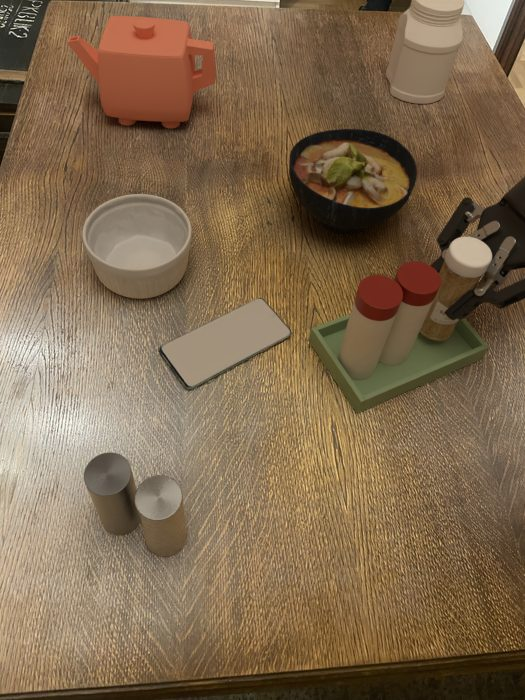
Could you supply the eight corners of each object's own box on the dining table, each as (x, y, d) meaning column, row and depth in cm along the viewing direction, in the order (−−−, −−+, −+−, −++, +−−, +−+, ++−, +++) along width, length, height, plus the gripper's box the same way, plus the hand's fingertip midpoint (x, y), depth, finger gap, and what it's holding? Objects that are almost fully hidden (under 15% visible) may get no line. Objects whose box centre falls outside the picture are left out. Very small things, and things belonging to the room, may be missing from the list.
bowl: (424, 231, 87) (446, 174, 79) (326, 272, 81) (339, 215, 73) (355, 163, 95) (368, 105, 87) (261, 196, 89) (266, 137, 81)
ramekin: (200, 301, 76) (199, 263, 71) (93, 314, 74) (83, 275, 68) (185, 229, 84) (183, 189, 78) (88, 238, 81) (79, 198, 76)
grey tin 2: (192, 547, 58) (188, 510, 50) (152, 563, 57) (142, 527, 49) (179, 510, 61) (173, 468, 52) (140, 524, 59) (128, 484, 51)
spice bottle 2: (415, 359, 73) (449, 287, 62) (382, 370, 71) (411, 299, 61) (396, 330, 75) (426, 256, 64) (363, 340, 74) (389, 267, 63)
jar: (383, 67, 112) (404, -21, 100) (434, 70, 112) (460, -17, 100) (392, 103, 105) (415, 14, 93) (446, 105, 106) (476, 17, 94)
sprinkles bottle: (434, 348, 72) (473, 272, 62) (408, 323, 74) (441, 245, 64) (460, 331, 74) (502, 254, 63) (434, 307, 76) (470, 228, 65)
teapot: (73, 127, 95) (54, 37, 84) (88, 82, 103) (72, -6, 91) (212, 137, 96) (212, 49, 85) (218, 92, 104) (218, 6, 92)
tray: (428, 295, 80) (434, 282, 77) (481, 359, 74) (489, 346, 72) (308, 340, 74) (311, 327, 72) (356, 413, 68) (361, 401, 66)
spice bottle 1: (382, 373, 71) (411, 301, 61) (348, 384, 70) (371, 314, 59) (363, 343, 74) (389, 269, 63) (330, 354, 72) (350, 281, 62)
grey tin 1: (147, 526, 59) (136, 486, 51) (107, 541, 58) (89, 502, 50) (136, 490, 61) (124, 446, 53) (96, 504, 60) (78, 461, 52)
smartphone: (156, 347, 71) (261, 295, 77) (157, 350, 71) (260, 298, 77) (187, 390, 68) (294, 333, 74) (187, 392, 68) (293, 335, 74)
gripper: (509, 134, 63) (387, 250, 69) (609, 221, 56) (463, 341, 62) (526, 164, 69) (412, 268, 75) (619, 246, 62) (485, 353, 68)
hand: (436, 301), depth 69 cm, fingers closed on sprinkles bottle, 4 cm apart
